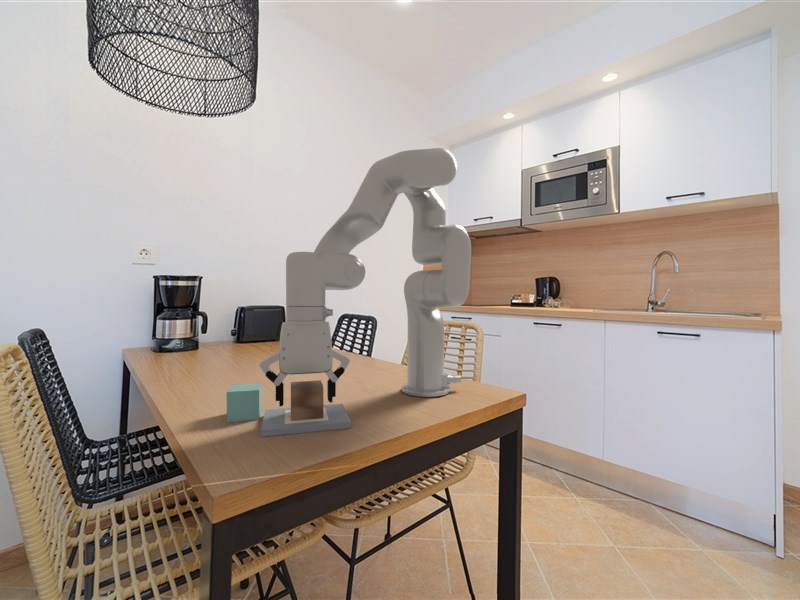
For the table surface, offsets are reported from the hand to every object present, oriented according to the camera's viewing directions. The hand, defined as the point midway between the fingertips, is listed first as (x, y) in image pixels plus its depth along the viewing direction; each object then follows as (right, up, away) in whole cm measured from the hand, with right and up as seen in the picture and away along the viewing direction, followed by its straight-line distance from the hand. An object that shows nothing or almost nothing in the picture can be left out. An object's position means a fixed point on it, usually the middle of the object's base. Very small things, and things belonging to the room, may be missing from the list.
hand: (306, 402), depth 74 cm
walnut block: (0, -2, 0) cm, 3 cm away
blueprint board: (0, -4, 0) cm, 4 cm away
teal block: (-13, -4, +3) cm, 14 cm away
